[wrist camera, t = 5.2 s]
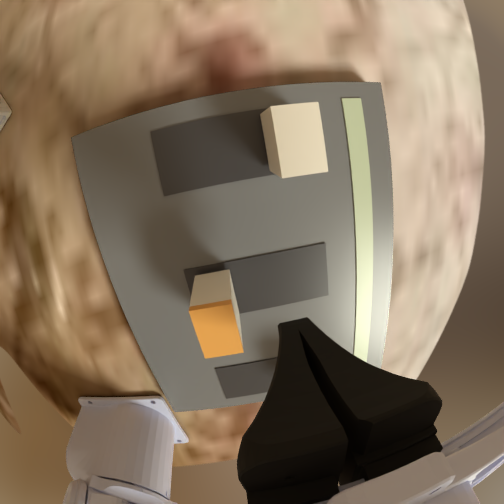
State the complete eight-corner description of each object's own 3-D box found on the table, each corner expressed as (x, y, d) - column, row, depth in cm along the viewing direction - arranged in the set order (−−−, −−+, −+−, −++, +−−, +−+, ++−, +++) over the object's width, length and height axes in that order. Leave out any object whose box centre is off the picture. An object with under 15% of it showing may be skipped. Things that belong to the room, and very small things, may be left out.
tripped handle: (207, 318, 17) (205, 358, 14) (194, 275, 16) (188, 311, 13) (239, 312, 17) (243, 352, 14) (229, 269, 16) (231, 303, 13)
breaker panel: (176, 399, 23) (171, 447, 18) (82, 137, 14) (34, 139, 9) (374, 359, 23) (398, 399, 18) (369, 85, 15) (417, 73, 10)
